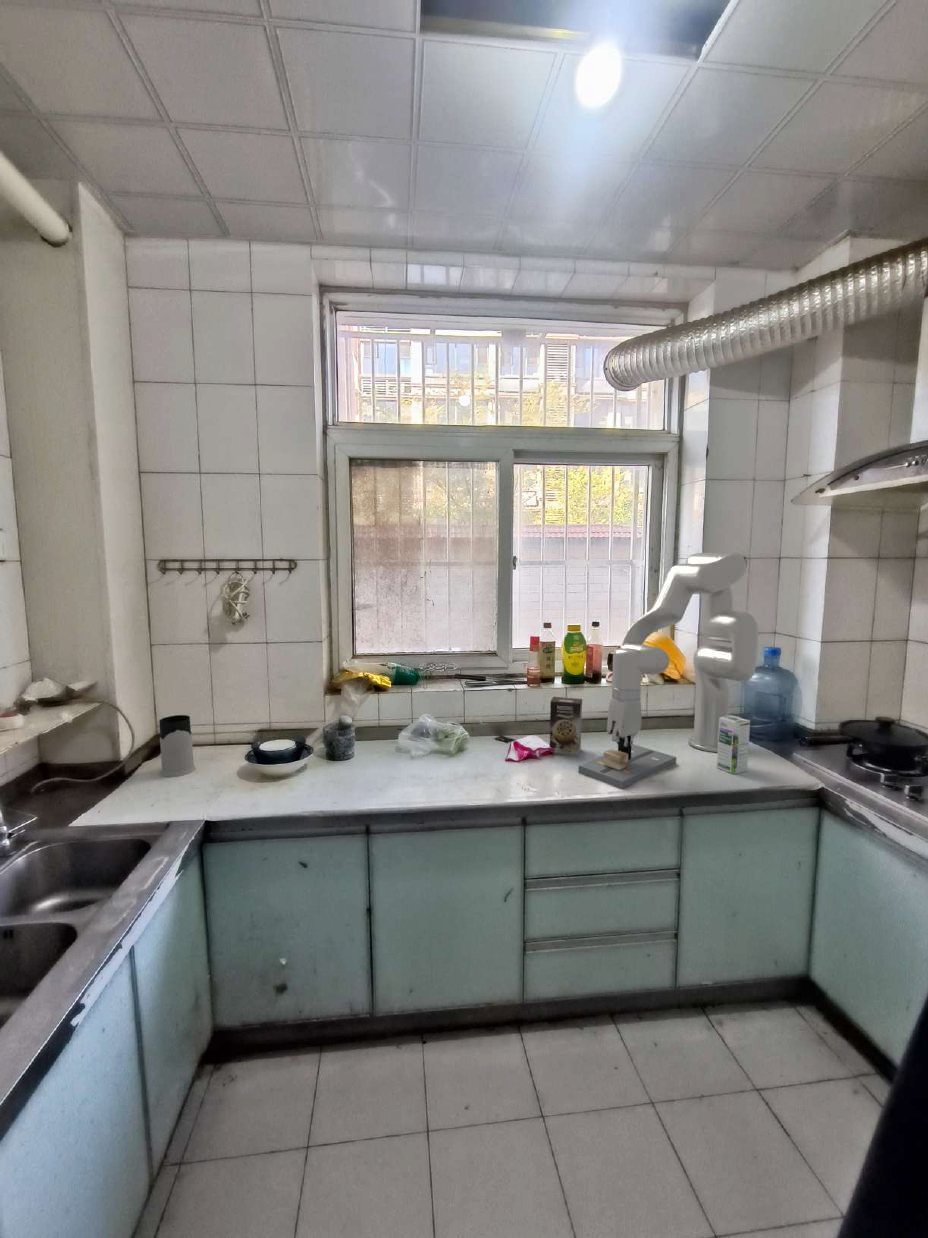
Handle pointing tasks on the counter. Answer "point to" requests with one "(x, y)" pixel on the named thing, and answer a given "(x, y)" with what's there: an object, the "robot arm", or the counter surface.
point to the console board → (629, 767)
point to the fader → (615, 759)
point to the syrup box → (733, 744)
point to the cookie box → (565, 725)
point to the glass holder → (176, 746)
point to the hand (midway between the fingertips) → (624, 758)
